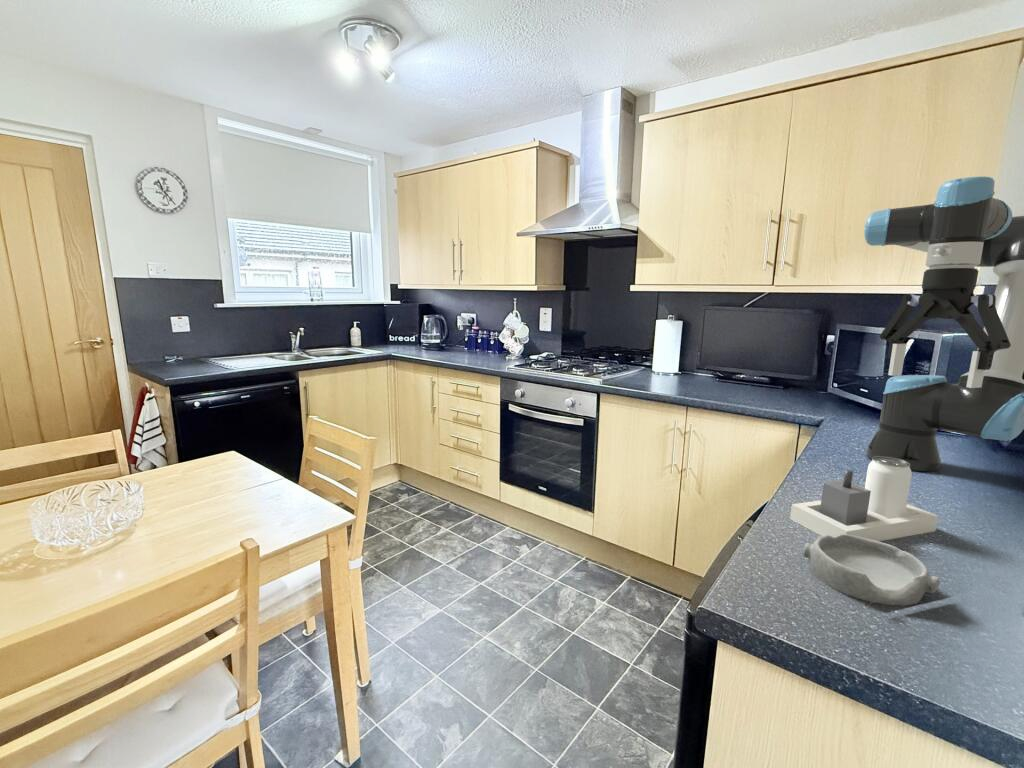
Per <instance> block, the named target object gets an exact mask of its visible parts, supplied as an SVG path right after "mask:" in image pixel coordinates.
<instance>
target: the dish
mask: <svg viewBox="0 0 1024 768" xmlns="http://www.w3.org/2000/svg"><path fill="white" fill-rule="evenodd" d="M802 555H803V557H804V558H806V559H808V567H809V568H808V569H809V571H811V573H812V574H813V576H814V577H816V578H817V579H818V580H819V581H821V582H822V583H823V584H824V585H826V586H828V587H830V588H832V589H834V590H836V591H837V592H840V593H842V594H844V595H847V596H848V597H849V596H850V597H852V598H856V599H857V600H858V599H859V600H862V601H865V602H869V603H875V604H880V605H889V606H910V605H911V606H912V605H915V604H918V603H920V601H921V600H923V599H922V598H923V596H924V595H925V594H926V593H927V592H928V593H931V594H935V593H936V591H937V590H938V588H939V585H940V582H941V581H940V579H939V577H938V576H933V575H931V574H930V573H929V571H928V568H927V567H926V565H925V564H924V563H923V561H921V560H920V559H919V558H917V557H916V556H915V555H913V554H912V553H910V552H908V551H905V550H901V549H900V548H898V547H897V546H894V545H892V544H889V543H886V542H885V543H884V542H883V541H875V540H870V539H866V538H862V537H858V536H853V535H848V534H840V535H836V536H830V535H825V536H821V535H820V537H818V538H817V539H815V541H814V542H813V543H809V542H807V543H805V545H804V547H803V550H802Z"/></svg>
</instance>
